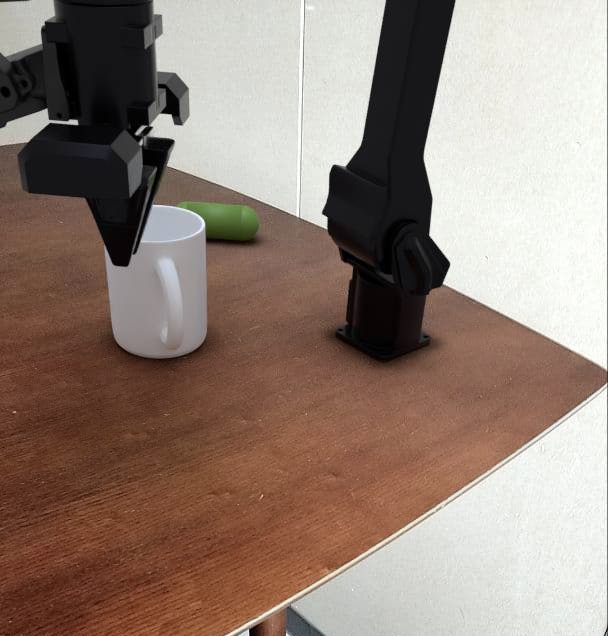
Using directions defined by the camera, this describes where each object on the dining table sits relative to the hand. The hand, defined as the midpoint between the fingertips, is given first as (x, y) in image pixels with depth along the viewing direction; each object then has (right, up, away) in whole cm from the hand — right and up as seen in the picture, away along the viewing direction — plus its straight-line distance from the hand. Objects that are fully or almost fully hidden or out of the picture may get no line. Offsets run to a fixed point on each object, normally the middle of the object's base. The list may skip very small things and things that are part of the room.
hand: (125, 259), depth 60 cm
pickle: (+3, +14, +35) cm, 38 cm away
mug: (0, -3, +16) cm, 16 cm away
